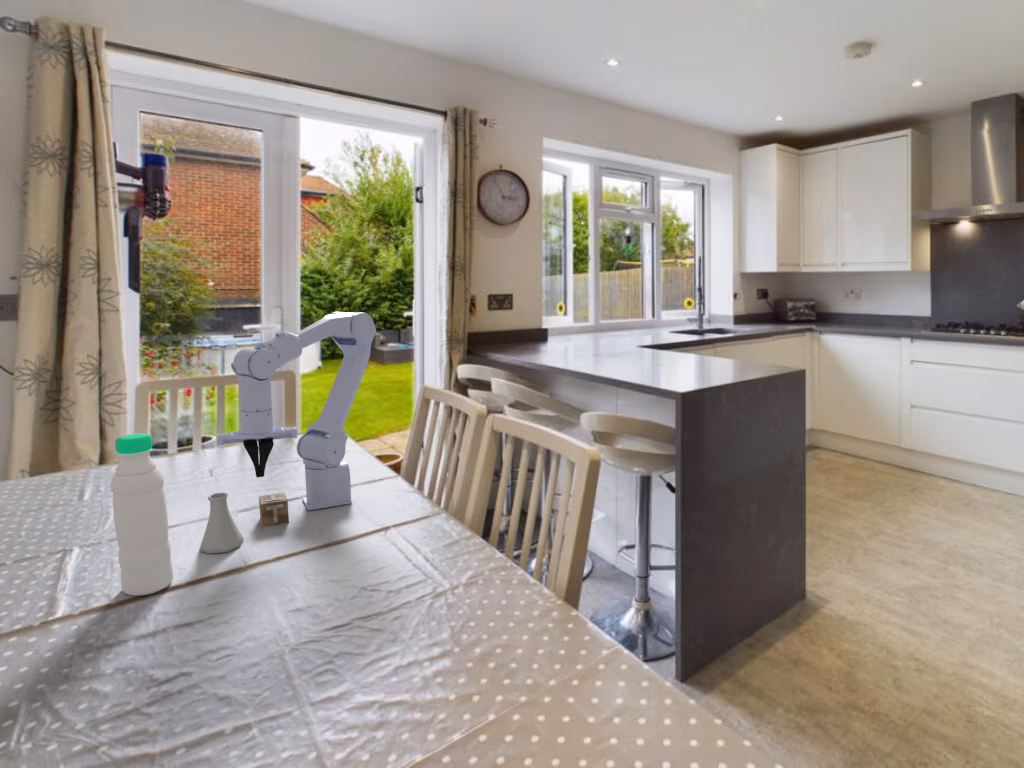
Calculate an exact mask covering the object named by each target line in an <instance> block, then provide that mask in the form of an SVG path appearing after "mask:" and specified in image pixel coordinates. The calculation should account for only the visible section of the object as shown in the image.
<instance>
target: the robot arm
mask: <svg viewBox="0 0 1024 768" xmlns="http://www.w3.org/2000/svg"><path fill="white" fill-rule="evenodd" d="M376 332H377V329H376V326H375V323H374V320H373V318H372V316H371V315H370V314H369V313H367V312H363V311H362V312H345V311H344V312H342V311H334V312H331V313H330V314H326V315H324V316H323V317H322V318H320V319H319V320H317V321H315V322H313V323H312V324H310V325H308V326H306V327H305V328H304V329H301V330H299V331H297V332H296V333H292V332H289V331H278V332H275V333H274V335H275V336H274V337H272V338H270V339H268V340H266V341H264V342H262V341H259V342H256V343H255V346H254V347H253V348H249V347H248V348H243V349H240V350H239V351H238V352H237V353H236V355H234V358H233V362H231V363H230V367H231V370H232V372H233V373H234V374H235V375H236V377H237V384H238V390H239V391H238V392H239V406H240V407H239V409H240V422H241V430H235V431H228V432H221V433H216V445H217V446H224V445H228V444H238V443H243V448H244V449H245V450H246V453H247V454H248V456H249V457H250V459H251V461H252V464H253V467H254V472H255V477H256V478H263V477H265V471H266V466H267V462H268V459H269V458H270V454H271V452H272V450H273V447H274V445H275V444H274V442H275V441H274V440H279V439H280V440H281V439H289V438H291V439H297V438H298V428H297V427H296V426H289V427H288V426H285V427H283V426H281V427H279V426H278V427H274V421H273V402H272V401H273V399H272V382H271V381H272V378H273V376H274V375H275V373H276V371H277V369H279V368H280V367H281V368H282V367H283V366H285V365H287V364H288V363H290V362H292V361H294V360H296V359H298V358H300V357H301V356H302V354H303V349H304V348H306V347H309V346H311V345H313V344H317V343H318V342H321V341H322V340H324V339H327V338H329V337H330V338H332V340H333V341H334V343H335V344H336V346H337V347H338V348H339V349H340V350H341V352H342V354H343V357H342V360H341V362H340V365H339V368H338V370H337V373H336V375H335V377H334V379H333V380H334V381H333V383H332V385H331V388H330V390H329V392H328V395H327V397H326V400H325V403H324V404H323V408H322V409H321V412H320V415H319V417H318V419H316V420H315V421H313V422H311V423H310V424H309V425H308V426H307V429H306V430H305V432H304V433H303V434H302V435H301V436H300V437H299V439H298V441H297V444H296V451H297V452H296V453H297V455H298V456H299V458H301V459H302V464H303V465H304V476H305V477H304V478H305V494H306V496H303V497H302V501H303V503H304V505H305V507H306V509H307V510H308V511H314V510H318V509H319V510H320V509H325V508H331V507H337V506H338V507H339V506H343V505H348V504H352V503H353V500H352V492H351V491H352V489H351V488H352V486H351V472H350V467H349V462H347V461H343V459H344V458H345V455H346V447H347V445H346V444H347V442H348V441H347V440H348V438H349V436H348V434H347V433H346V431H345V429H344V428H343V426H344V424H345V421H346V419H347V416H348V414H349V411H350V408H351V406H352V404H353V401H354V398H355V396H356V393H357V391H358V389H359V387H360V383H361V380H362V378H363V375H364V373H365V370H366V368H367V365H368V362H369V361H370V357H371V348H372V343H373V341H374V338H375V335H376Z"/></svg>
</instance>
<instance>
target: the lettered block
mask: <svg viewBox="0 0 1024 768" xmlns="http://www.w3.org/2000/svg"><path fill="white" fill-rule="evenodd" d="M288 501H289V500H288V498H287V495H286V493H285V492H280V493H273V494H266V495H259V496H258V502H259V503H258V504H259V507H258V508H259V517H260V518H259V519H260V523H261V527H262V528H269V527H273V526H279V525H285V524H289V523H290V520H289V519H290V517H289V515H290V514H289V503H288Z"/></svg>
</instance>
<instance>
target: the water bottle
mask: <svg viewBox="0 0 1024 768" xmlns="http://www.w3.org/2000/svg"><path fill="white" fill-rule="evenodd" d="M114 446H115V451H116V455H118V457H119V459H120V460H119V463H118V464H117V466H116V467H115V471H114V474H113V476H112V478H111V480H110V486H109V487H110V491H111V492H112V509H113V518H114V519H113V521H114V529H115V535H116V540H117V545H118V553H117V554H118V556H117V557H118V564H119V567H120V583H121V585H120V587H121V590H122V591H123V593H124V594H126V595H129V596H134V597H135V596H136V597H138V596H139V597H140V596H146V595H151V594H154V593H157V592H160V591H162V590H164V589H165V588H166V587H168V586H169V585H170V584H171V583H172V582H173V580H174V569H173V564H172V560H171V557H172V556H171V555H172V554H171V553H172V549H171V543H170V540H169V519H168V518H169V517H168V505H167V501H166V499H167V498H166V493H165V489H164V484H165V477H164V474H163V473H162V471H161V470H160V468H159V467H158V466H157V463H156V462H155V460H154V459H153V458H152V457H151V456H150V455H151V454H150V453H151V452H152V450H153V449H152V448H153V439H152V436H151V435H150V434H147V433H140V432H139V433H129V434H125V435H120V436H118V437H117V438H116V439H115V442H114Z"/></svg>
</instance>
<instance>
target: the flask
mask: <svg viewBox="0 0 1024 768" xmlns="http://www.w3.org/2000/svg"><path fill="white" fill-rule="evenodd" d="M228 496H229V493H228V492H223V491H222V492H214V493H212V494H209V496H207V500H208V501H209V504H210V505H209V507H210V508H209V509H210V510H209V516H208V519H207V524H206V528H205V530H204V531H205V532H204V534H203V537H202V540H201V543H200V547H199V548H198V549H199V550H198V551H199V552H202V553H207V554H221V553H228V552H230V551H232V550H234V549H237V548H239V547H241V545H242V543H243V541H244V537H243V535H242V533H241V531H240V529H239V527H238V526H237V524H236V522H235V521H234V519H233V516H232V515H231V512H230V509H229V507H228V499H227V498H228Z"/></svg>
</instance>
